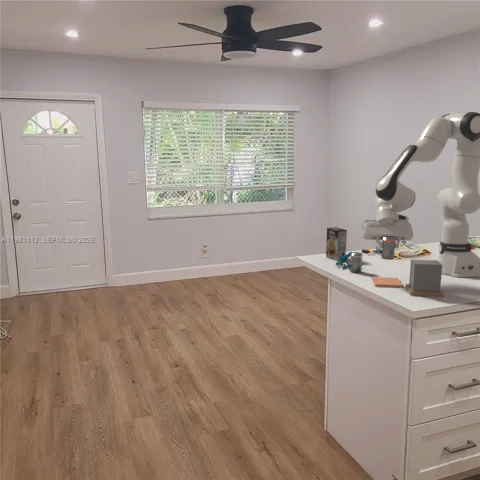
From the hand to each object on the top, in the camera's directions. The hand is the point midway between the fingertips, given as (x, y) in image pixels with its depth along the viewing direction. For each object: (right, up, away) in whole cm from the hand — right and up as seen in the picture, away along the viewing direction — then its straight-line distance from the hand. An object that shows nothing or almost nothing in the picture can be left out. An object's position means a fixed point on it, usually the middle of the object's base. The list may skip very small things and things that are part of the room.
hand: (388, 247), depth 179 cm
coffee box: (-11, -7, +48) cm, 50 cm away
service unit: (+11, -18, -9) cm, 23 cm away
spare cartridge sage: (-8, -12, +22) cm, 26 cm away
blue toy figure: (-11, -10, +32) cm, 36 cm away
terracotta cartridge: (0, -5, +2) cm, 5 cm away
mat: (0, -15, +4) cm, 16 cm away
